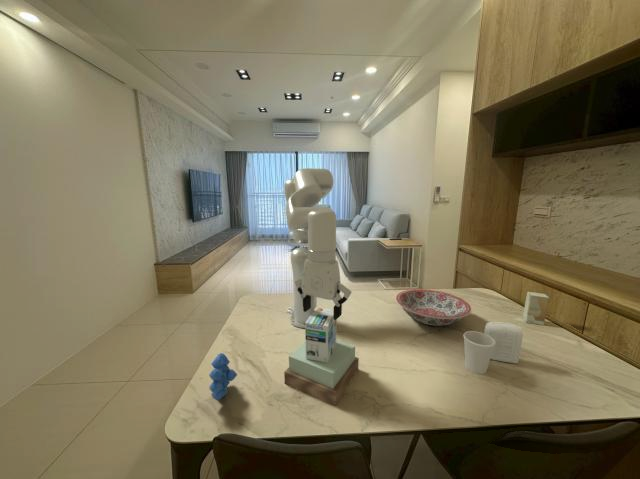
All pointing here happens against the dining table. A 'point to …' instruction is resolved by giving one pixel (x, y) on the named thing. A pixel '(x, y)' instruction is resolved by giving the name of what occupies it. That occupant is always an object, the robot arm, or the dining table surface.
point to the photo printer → (505, 341)
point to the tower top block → (323, 364)
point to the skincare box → (535, 308)
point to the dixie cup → (477, 351)
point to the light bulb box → (320, 335)
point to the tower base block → (319, 389)
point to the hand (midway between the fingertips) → (321, 313)
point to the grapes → (221, 376)
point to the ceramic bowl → (433, 306)
